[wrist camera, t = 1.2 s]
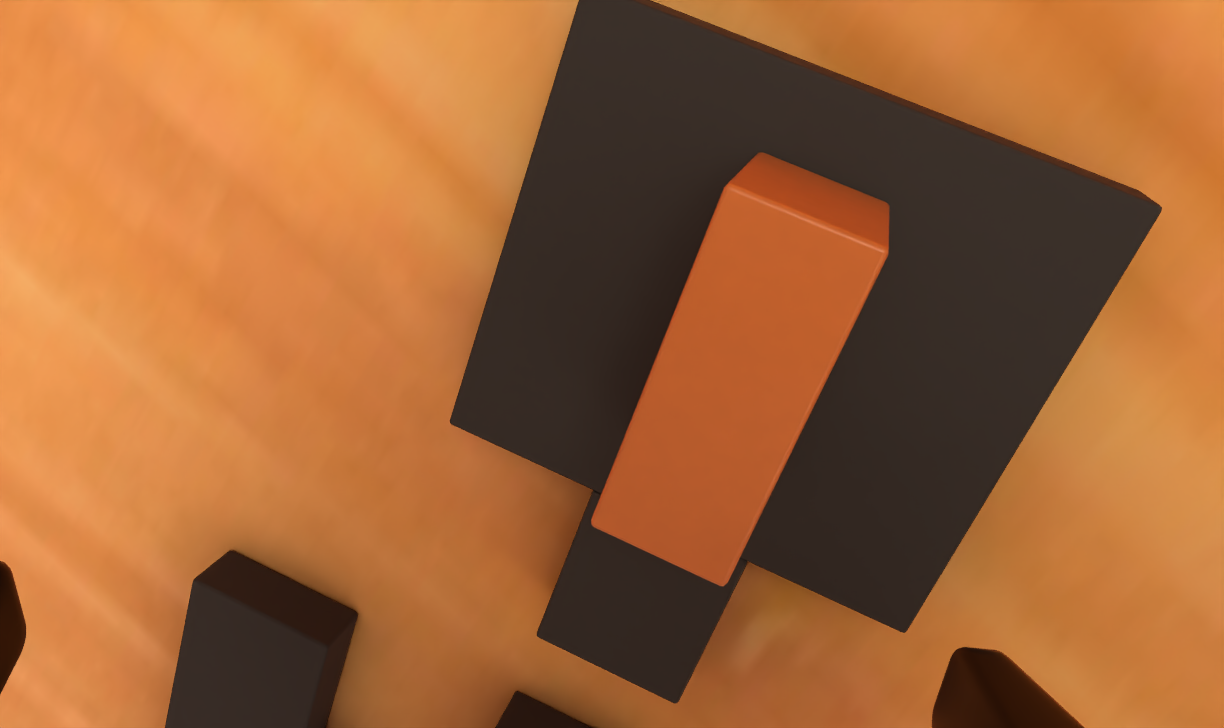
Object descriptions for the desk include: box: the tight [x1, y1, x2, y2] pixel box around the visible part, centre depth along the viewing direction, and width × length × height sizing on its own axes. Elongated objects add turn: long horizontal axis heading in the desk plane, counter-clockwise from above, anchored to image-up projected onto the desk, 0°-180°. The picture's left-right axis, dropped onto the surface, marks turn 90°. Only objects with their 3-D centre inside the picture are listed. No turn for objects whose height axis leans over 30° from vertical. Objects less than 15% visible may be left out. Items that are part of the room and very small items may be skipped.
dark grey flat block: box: [450, 0, 1162, 703], centre depth 17 cm, size 10×13×5 cm
